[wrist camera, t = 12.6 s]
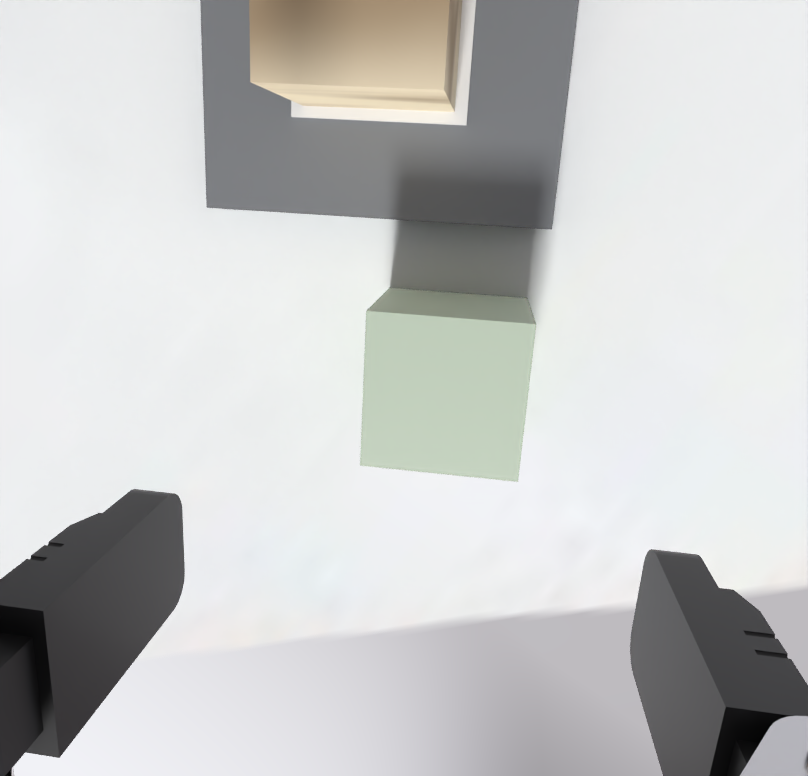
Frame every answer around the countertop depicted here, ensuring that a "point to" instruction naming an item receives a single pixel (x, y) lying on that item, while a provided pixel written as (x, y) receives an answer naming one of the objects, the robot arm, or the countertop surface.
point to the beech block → (357, 52)
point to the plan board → (399, 128)
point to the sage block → (446, 383)
